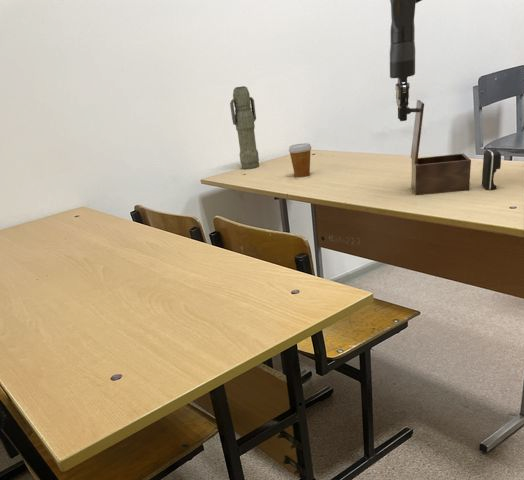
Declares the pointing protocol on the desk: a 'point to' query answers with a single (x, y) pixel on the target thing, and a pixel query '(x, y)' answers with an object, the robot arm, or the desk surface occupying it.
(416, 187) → the chest
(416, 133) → the lid
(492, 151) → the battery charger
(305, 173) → the disposable coffee cup
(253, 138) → the stone idol statue
